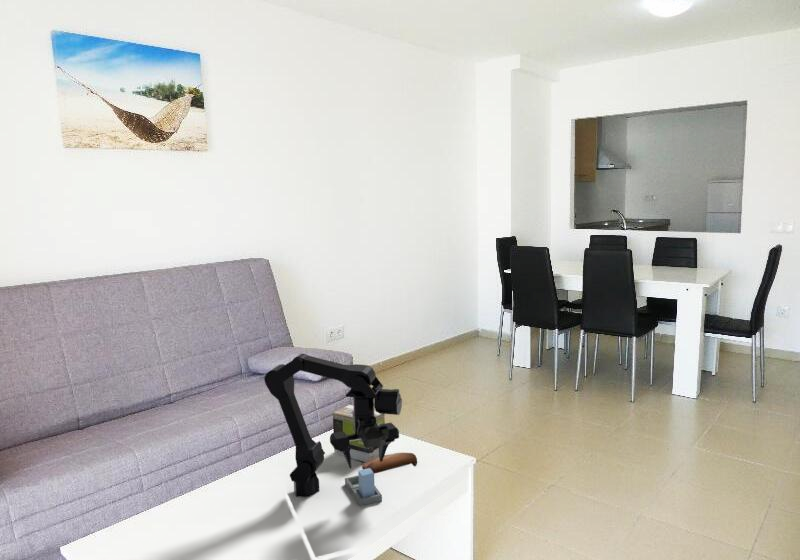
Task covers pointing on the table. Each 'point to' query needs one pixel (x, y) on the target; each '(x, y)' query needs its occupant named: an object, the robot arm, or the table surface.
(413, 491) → the table surface
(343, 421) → the tea box
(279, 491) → the table surface
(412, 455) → the sunglasses case
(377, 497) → the panel
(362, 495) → the plug
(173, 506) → the table surface
